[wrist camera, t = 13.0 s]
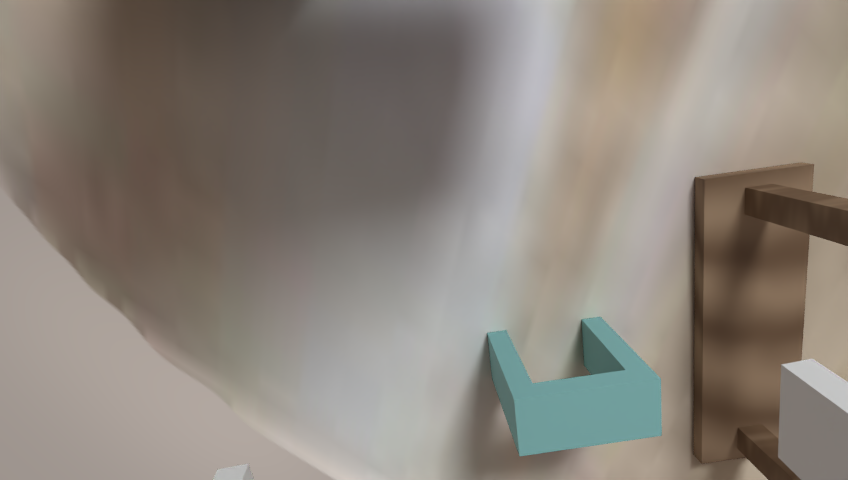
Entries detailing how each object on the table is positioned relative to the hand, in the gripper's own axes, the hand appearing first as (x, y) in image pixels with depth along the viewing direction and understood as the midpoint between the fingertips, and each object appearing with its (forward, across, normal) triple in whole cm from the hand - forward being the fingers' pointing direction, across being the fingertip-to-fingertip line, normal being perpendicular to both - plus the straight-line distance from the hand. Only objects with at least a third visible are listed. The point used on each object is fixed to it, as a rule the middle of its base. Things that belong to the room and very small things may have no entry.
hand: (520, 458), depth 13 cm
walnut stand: (+26, +22, -13) cm, 36 cm away
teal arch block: (+25, +6, -13) cm, 29 cm away
